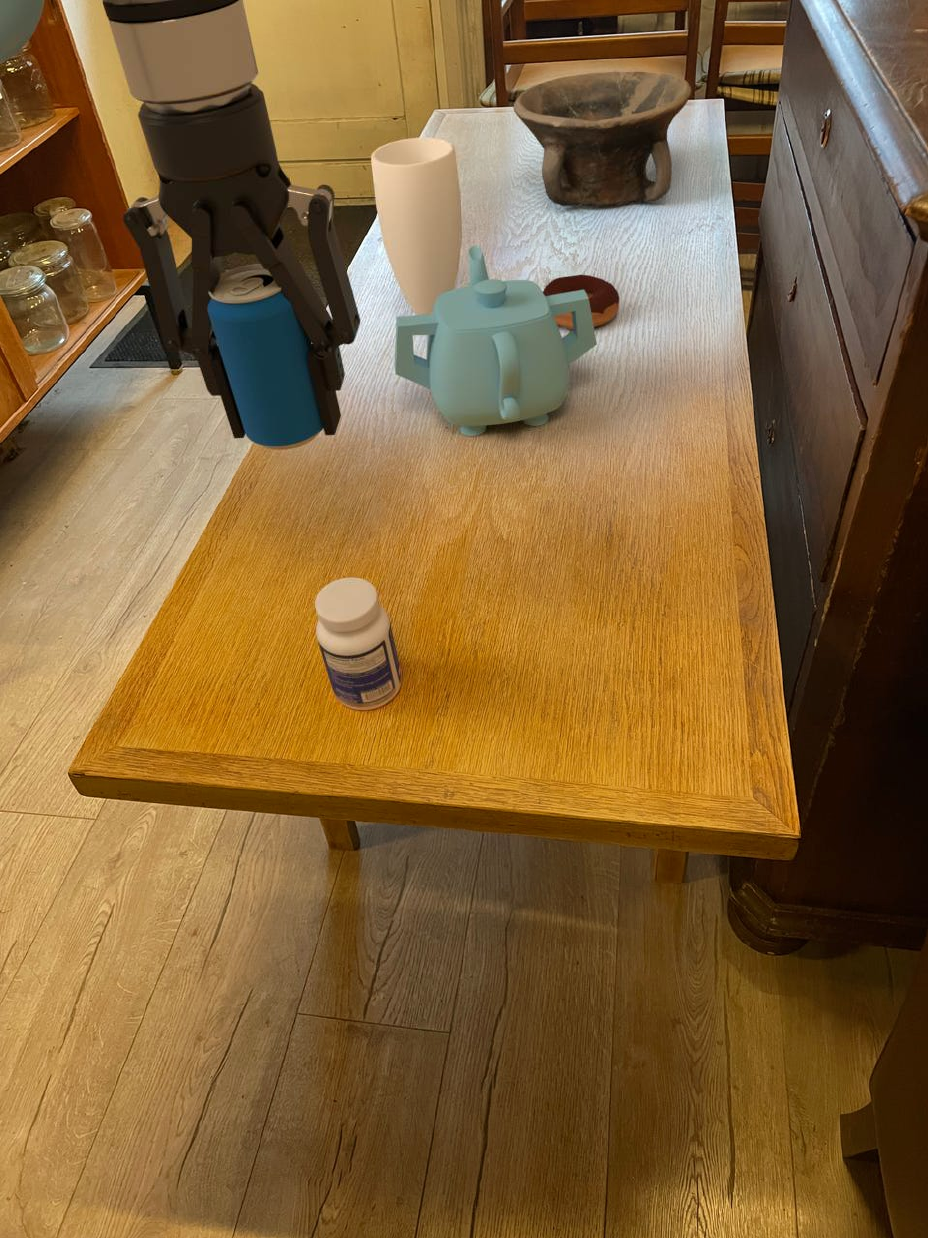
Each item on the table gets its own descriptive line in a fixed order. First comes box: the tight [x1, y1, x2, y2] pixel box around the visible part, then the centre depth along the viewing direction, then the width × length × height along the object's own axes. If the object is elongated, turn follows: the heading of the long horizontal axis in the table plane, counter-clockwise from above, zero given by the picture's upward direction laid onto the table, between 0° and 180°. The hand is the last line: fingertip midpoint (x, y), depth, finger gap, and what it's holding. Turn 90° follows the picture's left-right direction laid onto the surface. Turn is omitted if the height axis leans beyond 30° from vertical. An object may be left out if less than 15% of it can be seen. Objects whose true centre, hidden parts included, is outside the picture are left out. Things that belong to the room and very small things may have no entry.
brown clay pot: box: [512, 70, 692, 207], centre depth 139 cm, size 27×26×15 cm
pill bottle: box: [314, 576, 403, 711], centre depth 69 cm, size 6×6×10 cm
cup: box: [370, 137, 463, 315], centre depth 108 cm, size 10×10×22 cm
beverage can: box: [207, 263, 324, 451], centre depth 65 cm, size 6×6×12 cm
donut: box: [542, 274, 620, 330], centre depth 113 cm, size 10×10×4 cm
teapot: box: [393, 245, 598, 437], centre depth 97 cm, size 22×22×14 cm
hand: (287, 426), depth 69 cm, fingers closed on beverage can, 6 cm apart
